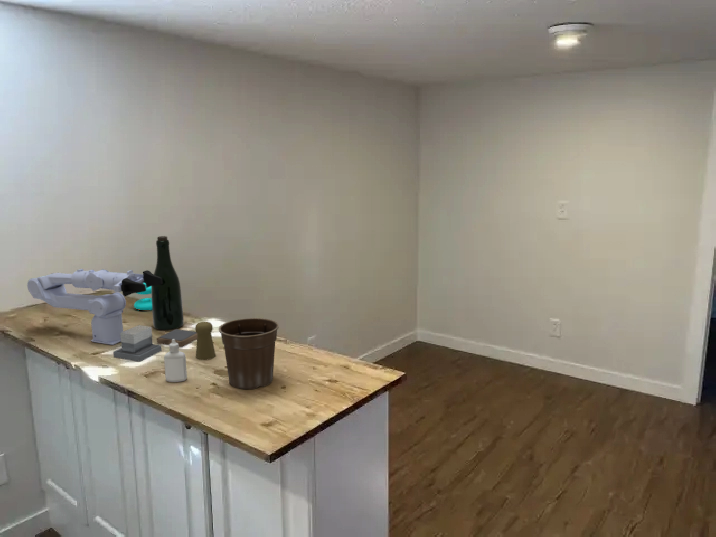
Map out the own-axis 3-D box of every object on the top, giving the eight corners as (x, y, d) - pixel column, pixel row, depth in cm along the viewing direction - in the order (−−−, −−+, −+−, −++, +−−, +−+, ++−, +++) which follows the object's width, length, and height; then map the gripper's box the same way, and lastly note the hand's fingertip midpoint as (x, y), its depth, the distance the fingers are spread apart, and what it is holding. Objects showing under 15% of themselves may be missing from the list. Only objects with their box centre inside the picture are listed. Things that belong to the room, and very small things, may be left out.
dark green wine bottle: (147, 327, 204) (139, 236, 197) (171, 320, 213) (165, 233, 205) (165, 332, 198) (158, 239, 191) (190, 325, 207) (184, 235, 200)
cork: (210, 360, 173) (208, 326, 171) (192, 359, 175) (189, 325, 172) (218, 353, 179) (217, 320, 177) (201, 352, 180) (199, 319, 178)
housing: (122, 351, 175) (120, 332, 174) (140, 342, 183) (138, 325, 181) (134, 353, 174) (133, 334, 172) (152, 344, 181) (151, 326, 180)
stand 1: (113, 357, 176) (113, 351, 175) (136, 346, 185) (136, 340, 184) (139, 361, 172) (139, 355, 172) (161, 350, 182) (161, 344, 181)
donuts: (144, 280, 232) (164, 282, 228) (146, 303, 234) (165, 306, 230) (126, 285, 223) (147, 288, 219) (128, 310, 225) (149, 312, 221)
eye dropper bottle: (178, 384, 156) (175, 343, 154) (163, 380, 159) (160, 340, 156) (189, 378, 160) (186, 338, 158) (174, 375, 163) (171, 335, 160)
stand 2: (157, 343, 188) (156, 337, 188) (176, 333, 197) (176, 328, 197) (181, 347, 185) (181, 341, 184) (200, 337, 194) (200, 331, 193)
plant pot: (230, 369, 167) (227, 316, 164) (284, 369, 167) (283, 317, 163) (214, 392, 151) (211, 335, 148) (274, 393, 151) (273, 336, 147)
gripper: (101, 275, 177) (135, 278, 172) (134, 264, 190) (167, 266, 185) (104, 297, 179) (138, 300, 174) (137, 284, 192) (169, 287, 187)
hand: (153, 284), depth 179 cm, fingers open, 7 cm apart
